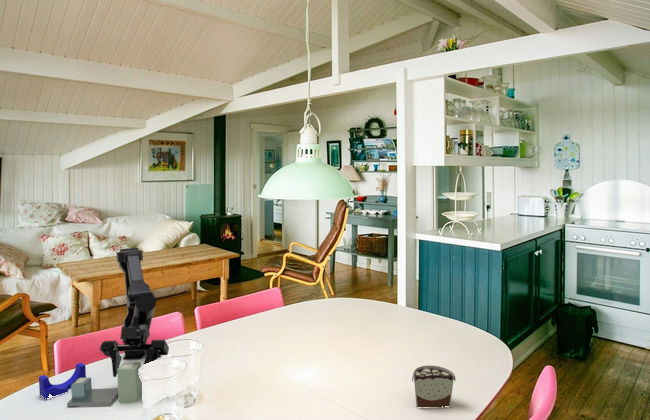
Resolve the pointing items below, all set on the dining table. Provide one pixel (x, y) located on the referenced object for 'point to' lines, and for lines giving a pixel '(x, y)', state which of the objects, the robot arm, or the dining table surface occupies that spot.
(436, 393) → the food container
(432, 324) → the dining table surface
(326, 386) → the dining table surface
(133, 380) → the block
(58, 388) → the blue curved cradle
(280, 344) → the dining table surface
